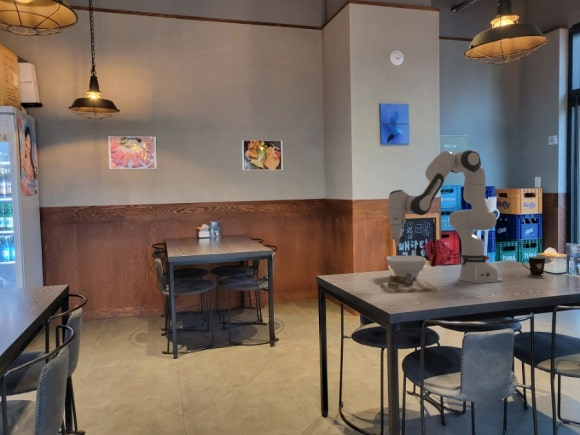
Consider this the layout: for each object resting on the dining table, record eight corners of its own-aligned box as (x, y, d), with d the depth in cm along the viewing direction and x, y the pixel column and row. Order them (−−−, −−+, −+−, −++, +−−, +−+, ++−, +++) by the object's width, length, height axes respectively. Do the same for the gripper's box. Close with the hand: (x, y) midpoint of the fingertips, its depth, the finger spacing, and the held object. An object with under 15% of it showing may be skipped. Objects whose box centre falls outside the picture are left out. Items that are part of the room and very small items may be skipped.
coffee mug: (545, 273, 273) (545, 256, 273) (544, 276, 266) (544, 258, 266) (523, 272, 280) (523, 255, 279) (522, 274, 272) (522, 257, 272)
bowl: (429, 281, 260) (429, 260, 259) (389, 281, 262) (389, 261, 261) (421, 274, 282) (421, 255, 282) (384, 274, 284) (384, 255, 283)
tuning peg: (413, 283, 245) (413, 272, 245) (413, 285, 241) (413, 273, 241) (390, 283, 249) (390, 271, 248) (389, 284, 245) (389, 273, 245)
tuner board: (425, 284, 252) (425, 276, 252) (436, 291, 234) (436, 283, 234) (381, 285, 251) (381, 278, 251) (389, 292, 233) (389, 284, 233)
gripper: (393, 219, 261) (393, 243, 261) (388, 221, 241) (389, 248, 242) (404, 219, 259) (405, 244, 259) (401, 221, 239) (401, 248, 240)
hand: (397, 246), depth 250 cm, fingers closed
